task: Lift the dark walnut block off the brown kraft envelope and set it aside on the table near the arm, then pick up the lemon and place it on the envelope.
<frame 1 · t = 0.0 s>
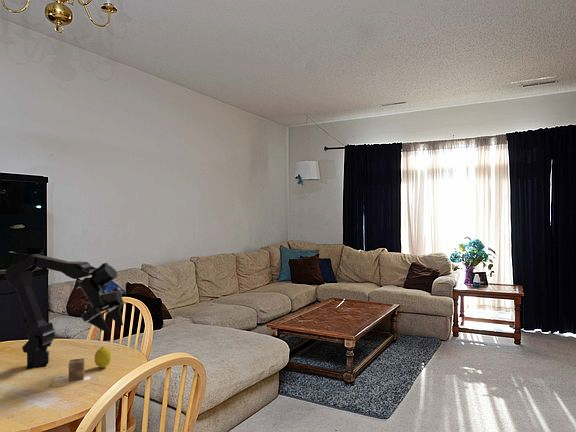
hand: (115, 328, 157), 15 cm above the table, tool tilted 35°, fingers open, 9 cm apart
envelope: (76, 379, 148), on the table
walnut block: (76, 378, 148), resting on envelope
lemon: (102, 368, 159), on the table
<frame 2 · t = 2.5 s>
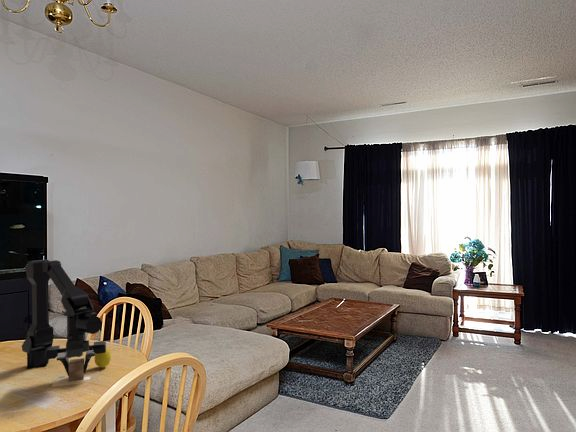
hand: (76, 374, 148), 2 cm above the table, tool pointing down, fingers closed on walnut block, 4 cm apart
walnut block: (76, 378, 148), resting on envelope, touching gripper
everything else where it was.
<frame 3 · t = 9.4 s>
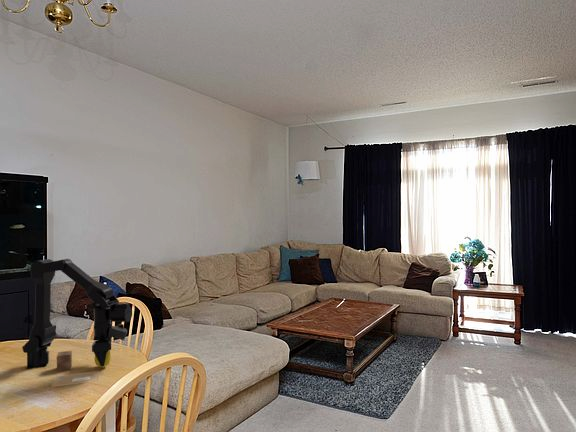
hand: (102, 363, 159), 2 cm above the table, tool pointing down, fingers closed on lemon, 5 cm apart
walnut block: (64, 369, 158), on the table
lemon: (102, 368, 159), on the table, touching gripper
when the fingers open (3 cm above the table, at t = 13.2 s): lemon stays where it is, resting on envelope.
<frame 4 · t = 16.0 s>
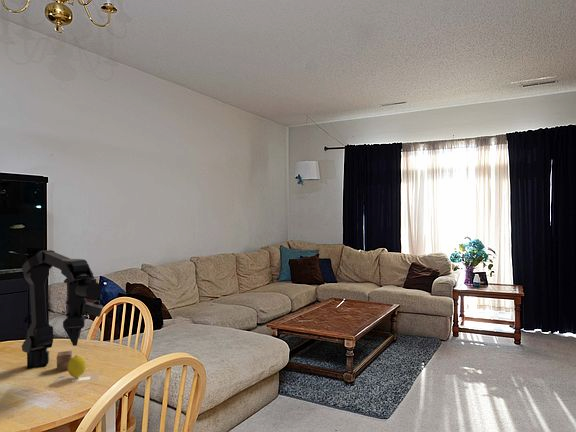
hand: (76, 341, 148), 13 cm above the table, tool pointing down, fingers open, 9 cm apart
lemon: (76, 378, 148), resting on envelope
everything else where it was.
at the end: lemon inside the target area on the envelope (0.1 cm from its centre), point 0.1 cm above the envelope's base; walnut block touching table; the gripper is holding nothing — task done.
